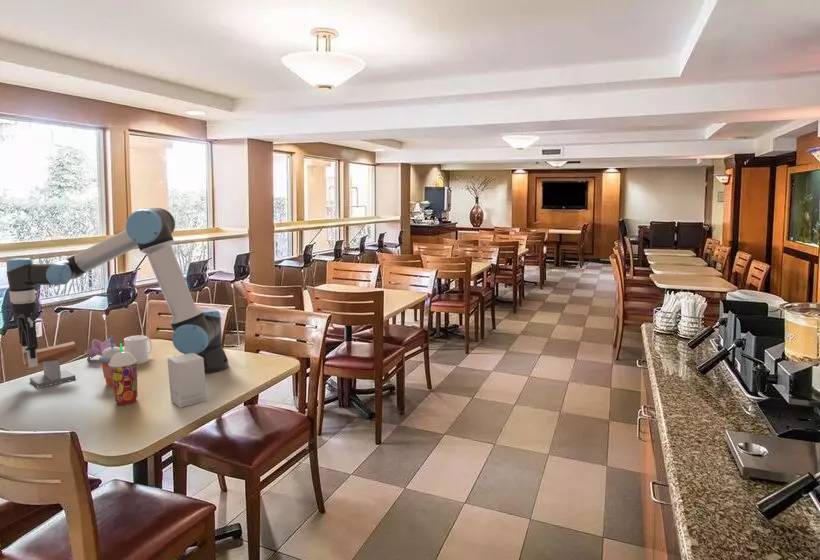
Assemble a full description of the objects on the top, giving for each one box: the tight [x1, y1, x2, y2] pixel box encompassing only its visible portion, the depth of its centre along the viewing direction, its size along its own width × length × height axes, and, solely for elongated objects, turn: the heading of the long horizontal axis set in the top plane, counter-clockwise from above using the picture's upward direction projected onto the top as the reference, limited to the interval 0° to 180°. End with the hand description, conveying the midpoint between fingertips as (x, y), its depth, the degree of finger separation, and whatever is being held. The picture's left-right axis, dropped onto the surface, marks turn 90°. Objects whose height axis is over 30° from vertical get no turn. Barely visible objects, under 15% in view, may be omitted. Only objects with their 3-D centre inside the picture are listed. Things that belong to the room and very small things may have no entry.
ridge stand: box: [29, 358, 77, 388], centre depth 207 cm, size 10×12×8 cm
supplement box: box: [167, 353, 207, 408], centre depth 185 cm, size 9×9×15 cm
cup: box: [123, 335, 153, 365], centre depth 231 cm, size 8×12×10 cm
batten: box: [24, 340, 78, 367], centre depth 205 cm, size 4×16×4 cm, turn 124°
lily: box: [83, 337, 117, 361], centre depth 233 cm, size 12×12×10 cm
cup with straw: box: [99, 334, 125, 387], centre depth 202 cm, size 9×9×18 cm
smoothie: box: [108, 342, 138, 406], centre depth 184 cm, size 8×8×20 cm
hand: (31, 364), depth 202 cm, fingers open, 5 cm apart
